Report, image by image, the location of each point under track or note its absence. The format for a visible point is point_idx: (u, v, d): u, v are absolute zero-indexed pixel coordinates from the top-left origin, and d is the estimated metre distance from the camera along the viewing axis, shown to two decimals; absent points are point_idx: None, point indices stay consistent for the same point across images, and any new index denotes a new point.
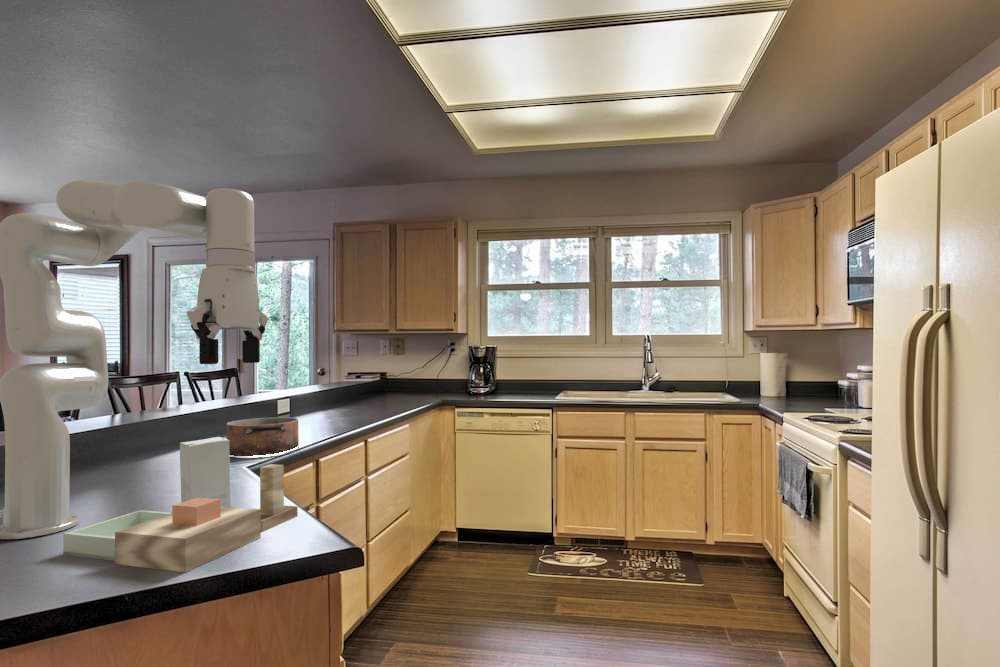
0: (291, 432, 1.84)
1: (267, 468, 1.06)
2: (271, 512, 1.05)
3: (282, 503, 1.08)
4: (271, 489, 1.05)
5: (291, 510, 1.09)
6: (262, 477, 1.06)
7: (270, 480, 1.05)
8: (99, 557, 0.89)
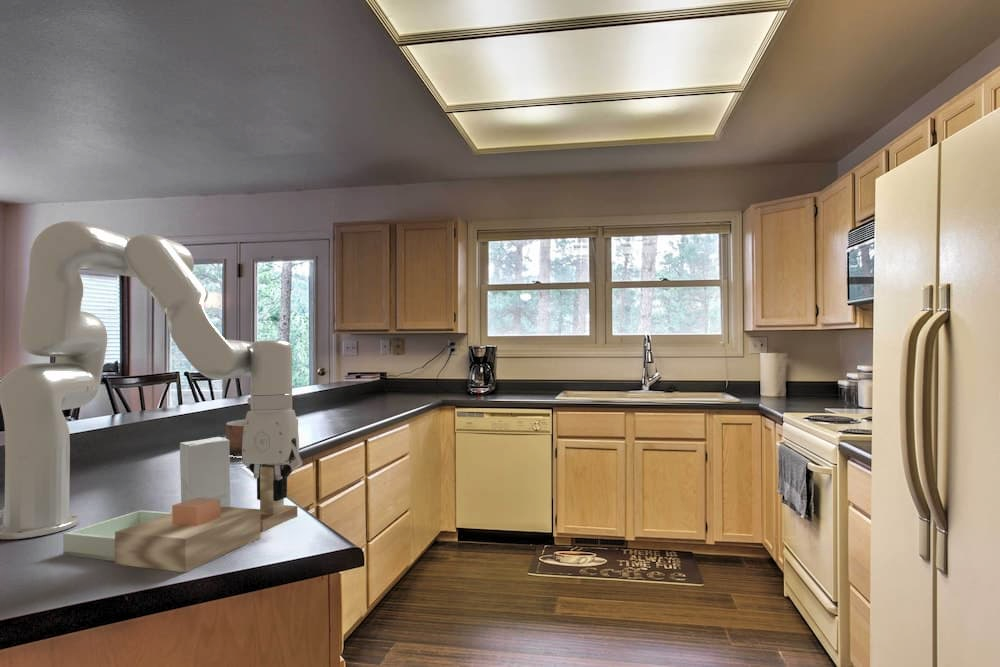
0: None
1: (267, 468, 1.06)
2: (271, 512, 1.05)
3: (282, 503, 1.08)
4: (271, 489, 1.05)
5: (291, 510, 1.09)
6: (262, 476, 1.06)
7: (270, 479, 1.06)
8: (99, 557, 0.89)
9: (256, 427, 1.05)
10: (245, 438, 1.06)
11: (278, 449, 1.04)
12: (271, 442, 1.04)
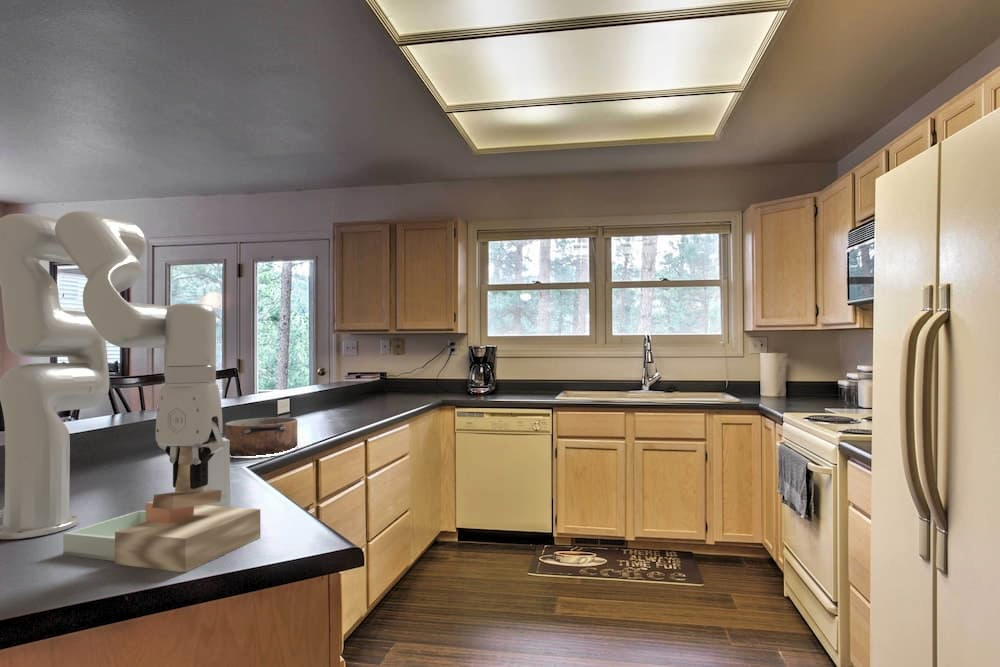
0: (290, 432, 1.83)
1: None
2: (187, 490, 0.91)
3: None
4: (190, 463, 0.92)
5: (213, 492, 0.95)
6: (182, 448, 0.93)
7: (191, 452, 0.92)
8: (99, 557, 0.89)
9: (171, 404, 0.91)
10: (159, 416, 0.92)
11: (195, 428, 0.90)
12: (187, 420, 0.90)
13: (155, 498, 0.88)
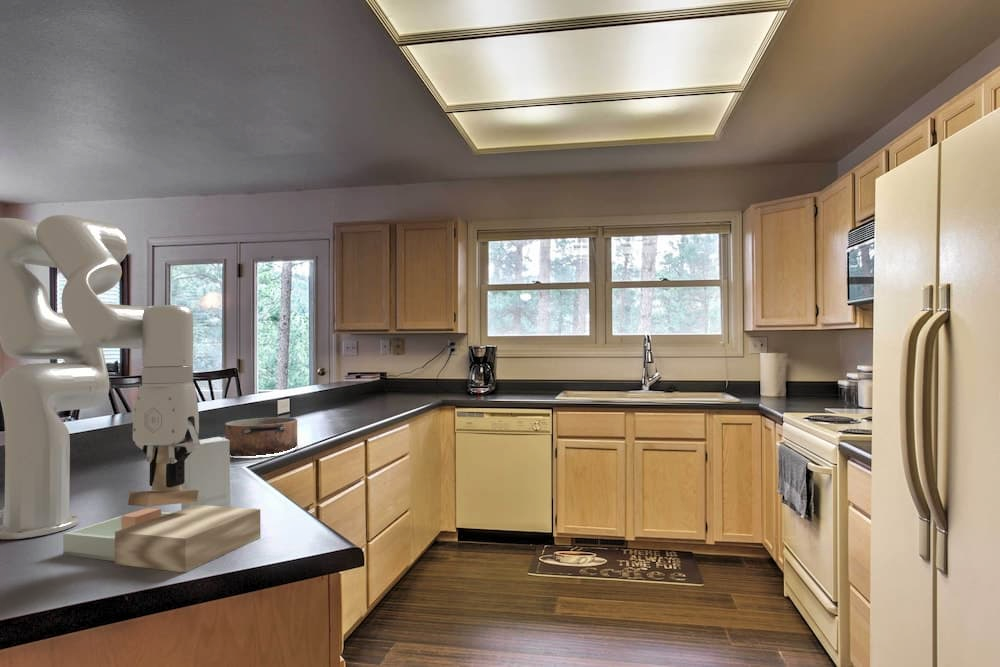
0: (290, 432, 1.83)
1: None
2: (163, 488, 0.92)
3: None
4: (167, 462, 0.93)
5: (189, 492, 0.96)
6: (160, 448, 0.94)
7: None
8: (99, 557, 0.89)
9: (147, 404, 0.92)
10: (136, 416, 0.93)
11: (171, 428, 0.91)
12: (163, 420, 0.91)
13: (131, 495, 0.90)
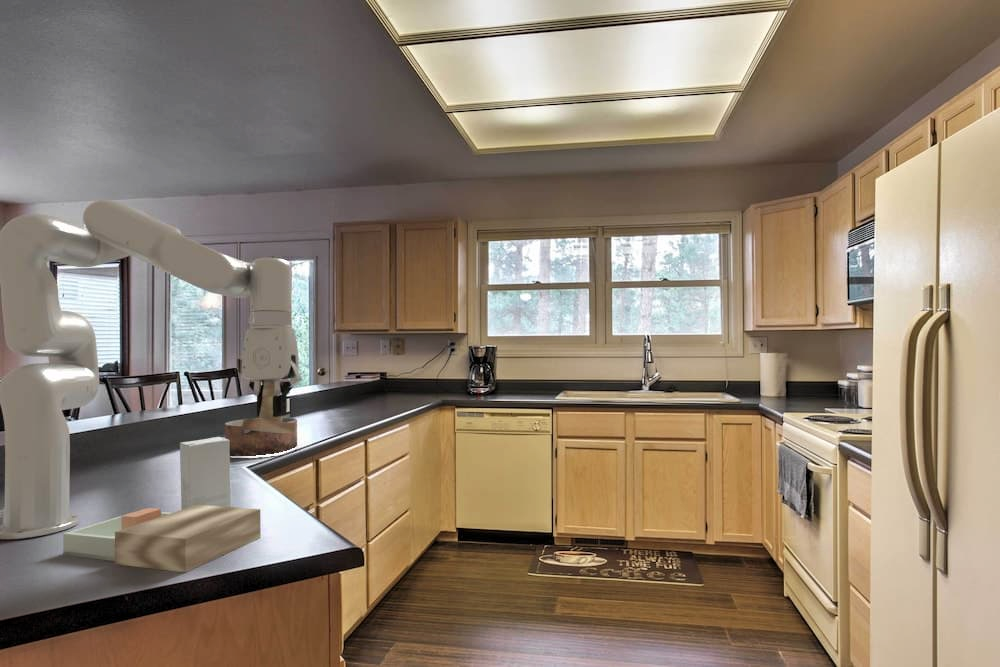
0: None
1: None
2: (270, 417, 1.06)
3: None
4: (273, 395, 1.07)
5: (289, 424, 1.09)
6: (266, 383, 1.08)
7: (274, 385, 1.07)
8: (99, 557, 0.89)
9: (256, 343, 1.06)
10: (245, 355, 1.07)
11: (278, 364, 1.04)
12: (271, 357, 1.05)
13: (244, 421, 1.03)
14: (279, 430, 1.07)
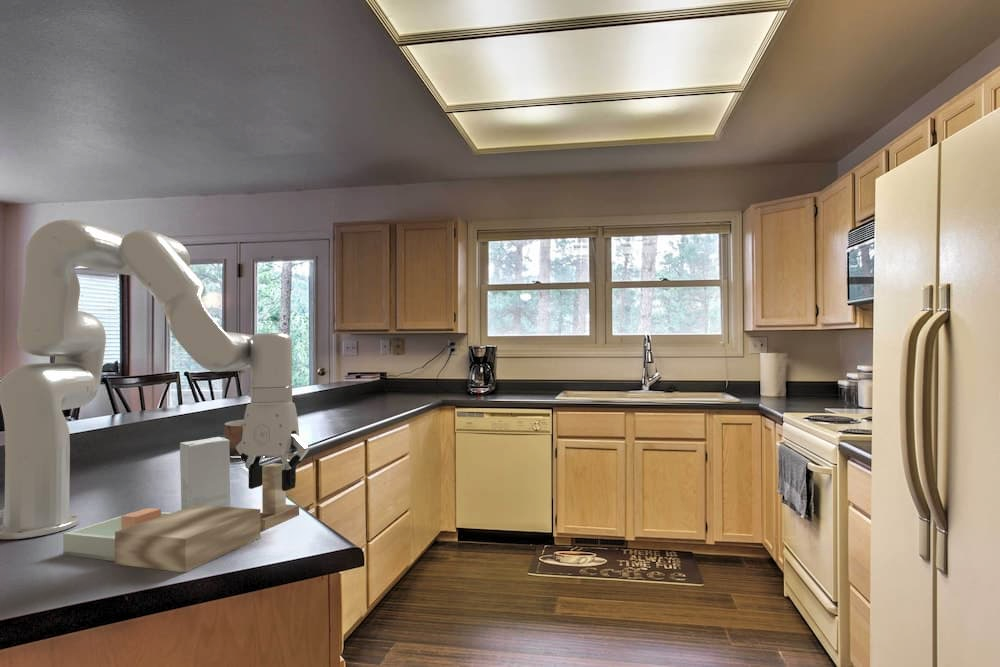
0: None
1: (269, 467, 1.07)
2: (273, 511, 1.06)
3: (284, 502, 1.08)
4: (273, 488, 1.06)
5: (293, 509, 1.10)
6: (264, 476, 1.07)
7: (273, 479, 1.06)
8: (99, 557, 0.89)
9: (256, 420, 1.05)
10: (245, 430, 1.06)
11: (278, 441, 1.04)
12: (271, 434, 1.04)
13: None
14: (284, 520, 1.08)
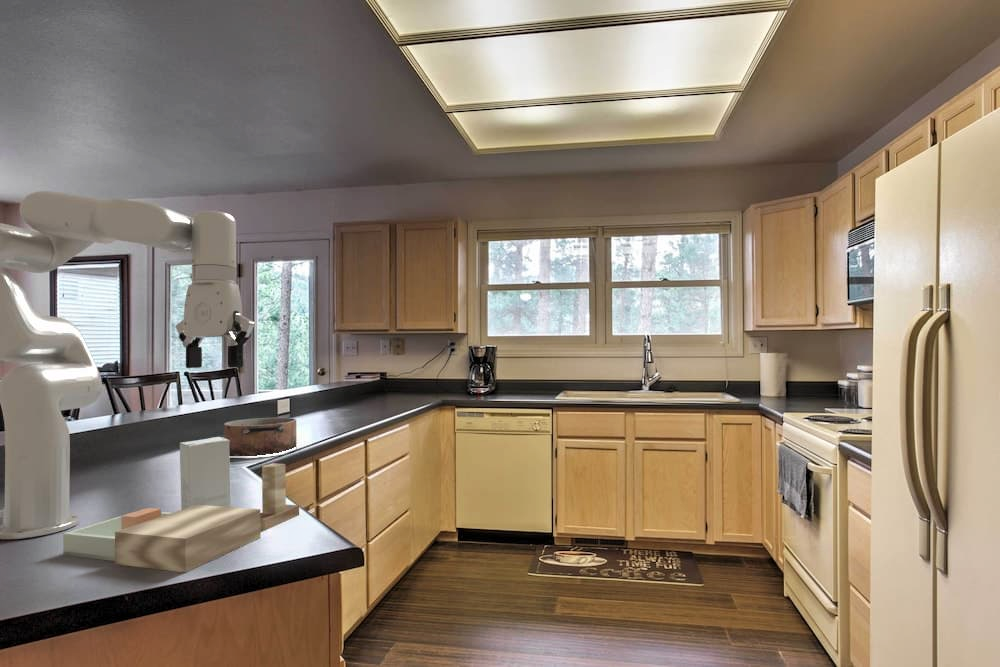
0: (289, 432, 1.83)
1: (269, 467, 1.07)
2: (273, 511, 1.06)
3: (284, 502, 1.08)
4: (273, 488, 1.06)
5: (293, 509, 1.10)
6: (264, 476, 1.07)
7: (272, 479, 1.06)
8: (99, 557, 0.89)
9: (197, 299, 1.03)
10: (186, 311, 1.03)
11: (219, 319, 1.01)
12: (212, 313, 1.02)
13: None
14: (284, 520, 1.08)
